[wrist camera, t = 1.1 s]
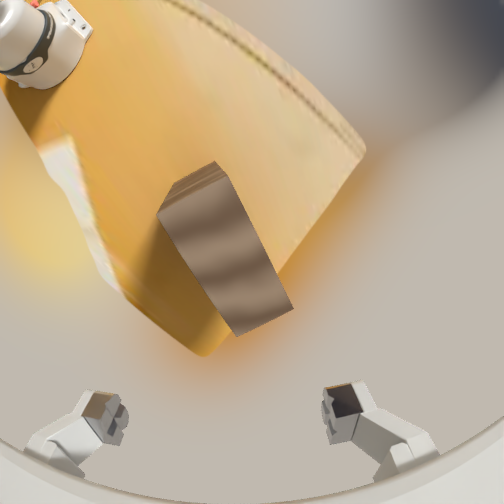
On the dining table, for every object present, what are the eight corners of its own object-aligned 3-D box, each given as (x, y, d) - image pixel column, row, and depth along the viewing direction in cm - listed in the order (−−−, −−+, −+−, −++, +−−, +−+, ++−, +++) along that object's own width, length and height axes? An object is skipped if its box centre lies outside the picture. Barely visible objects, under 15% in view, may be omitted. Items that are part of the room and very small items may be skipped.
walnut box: (174, 183, 46) (156, 214, 26) (214, 161, 46) (227, 175, 26) (220, 264, 54) (236, 337, 34) (257, 245, 54) (293, 308, 34)
